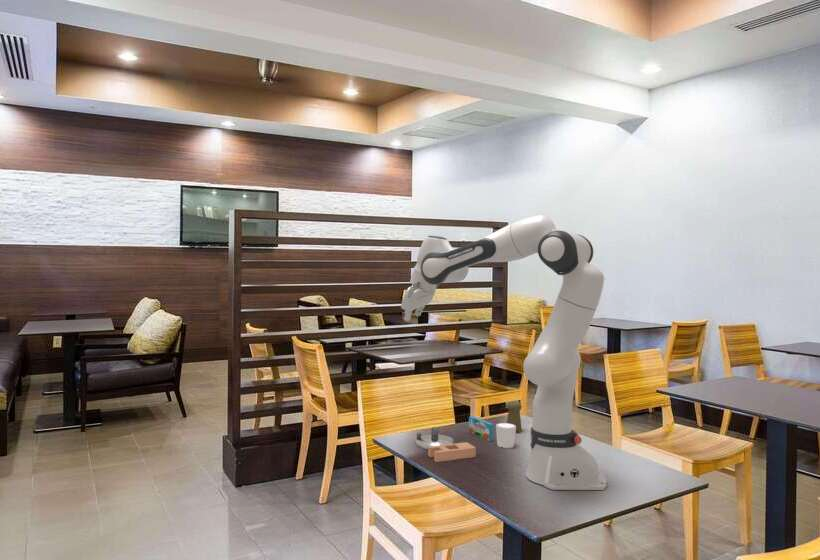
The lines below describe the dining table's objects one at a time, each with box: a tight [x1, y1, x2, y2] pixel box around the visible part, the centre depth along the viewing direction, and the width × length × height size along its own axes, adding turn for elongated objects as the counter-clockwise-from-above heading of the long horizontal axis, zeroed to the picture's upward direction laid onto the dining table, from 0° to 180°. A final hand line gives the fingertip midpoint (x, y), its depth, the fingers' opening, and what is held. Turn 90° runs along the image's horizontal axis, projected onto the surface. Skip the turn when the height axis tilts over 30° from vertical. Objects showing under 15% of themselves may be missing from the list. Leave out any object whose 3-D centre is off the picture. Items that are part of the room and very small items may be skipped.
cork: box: [506, 400, 523, 434], centre depth 209 cm, size 6×6×11 cm
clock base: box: [415, 427, 455, 451], centre depth 192 cm, size 13×13×6 cm
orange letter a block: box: [427, 442, 477, 463], centre depth 180 cm, size 14×6×3 cm, turn 112°
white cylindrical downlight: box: [495, 422, 516, 449], centre depth 192 cm, size 7×7×7 cm
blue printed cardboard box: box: [468, 415, 494, 442], centre depth 201 cm, size 12×2×6 cm, turn 31°
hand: (412, 317), depth 194 cm, fingers open, 8 cm apart
